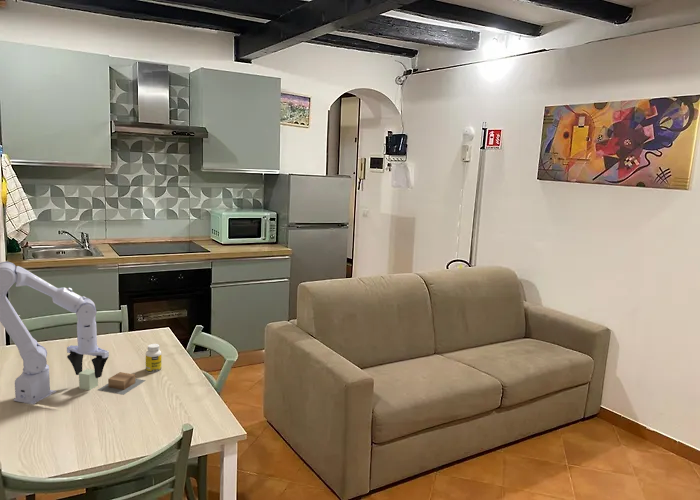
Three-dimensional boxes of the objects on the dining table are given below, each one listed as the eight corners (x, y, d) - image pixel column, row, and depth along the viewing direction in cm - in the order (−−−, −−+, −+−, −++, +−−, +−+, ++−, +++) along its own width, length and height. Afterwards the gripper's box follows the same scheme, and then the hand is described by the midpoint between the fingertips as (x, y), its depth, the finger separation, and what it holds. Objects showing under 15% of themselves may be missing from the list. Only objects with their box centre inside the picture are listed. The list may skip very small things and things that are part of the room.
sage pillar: (89, 392, 180) (89, 374, 179) (79, 390, 181) (78, 373, 180) (98, 387, 184) (97, 370, 182) (88, 385, 184) (87, 368, 183)
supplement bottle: (151, 375, 195) (151, 349, 193) (142, 371, 198) (142, 345, 196) (164, 371, 199) (164, 345, 197) (155, 367, 202) (155, 341, 201)
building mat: (123, 396, 178) (123, 394, 178) (97, 391, 180) (97, 389, 180) (145, 382, 189) (145, 380, 189) (120, 377, 192) (120, 376, 192)
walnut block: (124, 389, 181) (123, 381, 180) (108, 387, 182) (108, 378, 182) (135, 382, 187) (135, 374, 186) (120, 380, 188) (119, 372, 188)
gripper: (114, 335, 181) (115, 373, 183) (77, 329, 184) (78, 367, 187) (99, 341, 174) (101, 382, 177) (61, 336, 178) (63, 375, 180)
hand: (88, 375), depth 181 cm, fingers open, 7 cm apart
